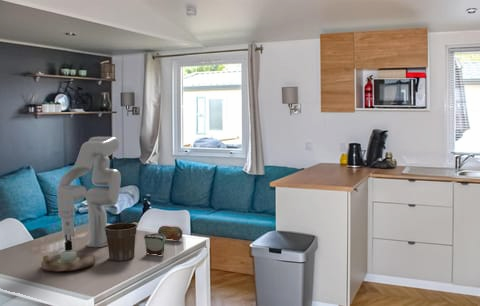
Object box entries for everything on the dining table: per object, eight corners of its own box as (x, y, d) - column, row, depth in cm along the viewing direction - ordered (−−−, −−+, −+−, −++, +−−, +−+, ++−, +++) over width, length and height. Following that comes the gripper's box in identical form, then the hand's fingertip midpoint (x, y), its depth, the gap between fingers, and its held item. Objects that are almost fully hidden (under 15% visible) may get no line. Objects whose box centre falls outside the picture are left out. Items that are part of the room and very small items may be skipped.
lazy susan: (92, 253, 234) (92, 244, 234) (98, 266, 212) (97, 257, 212) (41, 259, 225) (41, 250, 224) (41, 274, 203) (41, 264, 202)
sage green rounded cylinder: (76, 257, 222) (76, 249, 221) (76, 261, 215) (76, 253, 215) (61, 259, 219) (60, 251, 219) (60, 263, 213) (60, 255, 212)
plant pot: (103, 255, 235) (102, 224, 234) (134, 251, 242) (134, 221, 241) (107, 264, 221) (106, 231, 219) (141, 260, 227) (140, 227, 226)
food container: (171, 253, 238) (170, 234, 237) (164, 256, 232) (163, 237, 231) (151, 250, 243) (150, 232, 242) (144, 254, 237) (143, 234, 236)
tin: (157, 239, 265) (157, 225, 264) (160, 238, 268) (160, 224, 267) (180, 242, 259) (180, 227, 258) (183, 241, 262) (183, 226, 261)
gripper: (75, 215, 220) (77, 253, 222) (73, 209, 234) (75, 244, 236) (59, 217, 217) (61, 255, 219) (57, 211, 231) (60, 246, 233)
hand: (68, 249), depth 227 cm, fingers closed
